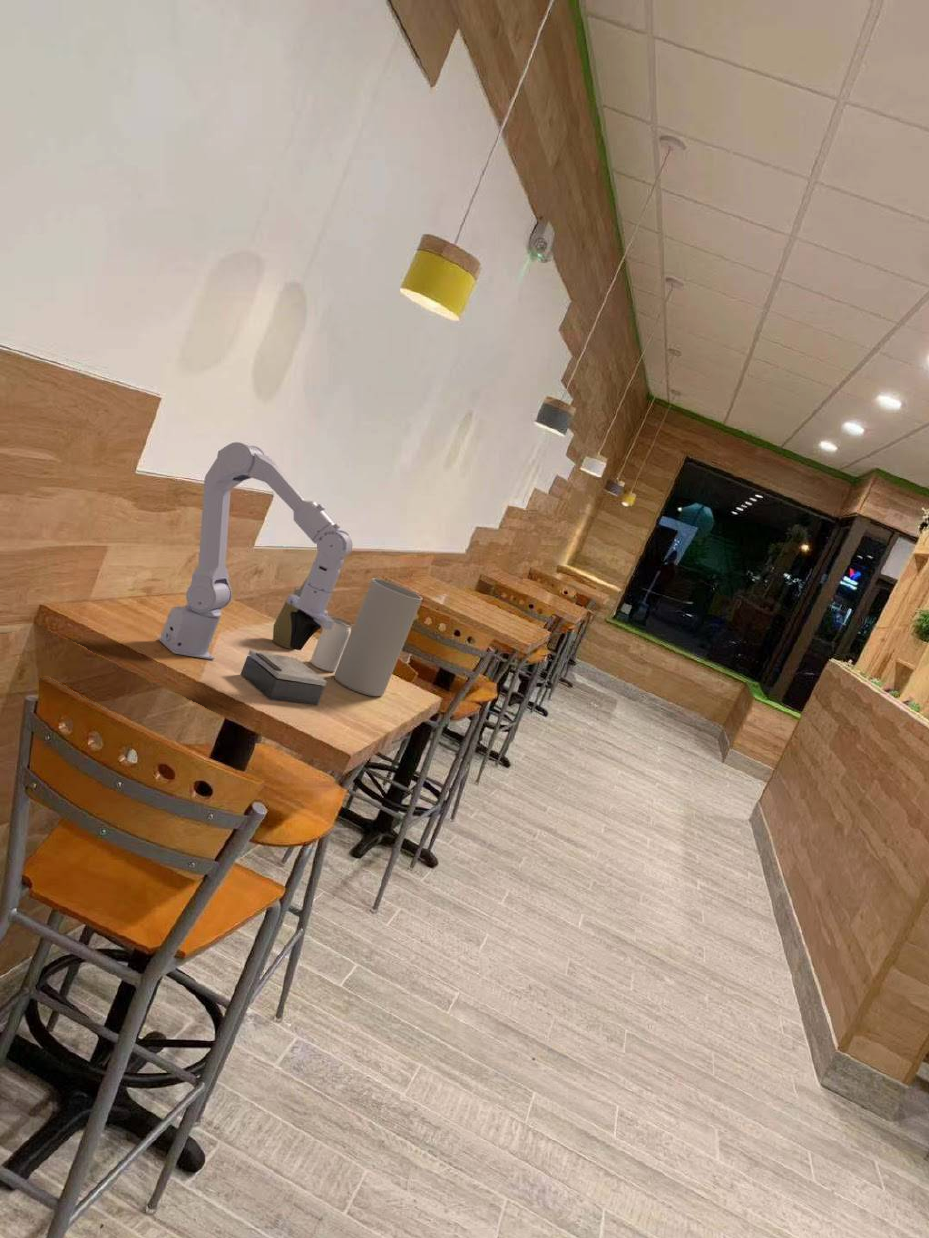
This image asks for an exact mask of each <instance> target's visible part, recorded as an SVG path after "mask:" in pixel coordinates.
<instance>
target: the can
mask: <svg viewBox="0 0 929 1238" xmlns="http://www.w3.org/2000/svg"><path fill="white" fill-rule="evenodd" d="M329 617H330V618H331V619H332V620H333V621H334V623H333V625H332V628H331V630H328V629H324V628H322V630H321V632H320V635H319V638H318V640H317V643H316V645H315V647H314V651H313V653H312V656H311V658H310V664H311V665H312V666H313V667H315V668H317V669H319V670H321V671H325V672H327V673H335V671H336V669H337V666H338V664H339V661H340V659H341V656H342V654H343V651H344V649H345V646H346V644H347V641H348V639H349V636H350V634H351V631H352V628H351V627H352V624H351V623H350V622H349V621H346V620H344V619H342V618H339V617H337V616H336V617H335V616H329Z"/></svg>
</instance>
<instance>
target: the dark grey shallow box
mask: <svg viewBox="0 0 929 1238" xmlns="http://www.w3.org/2000/svg"><path fill="white" fill-rule="evenodd" d="M239 676H241V677H242V678H244V679H245V680H246V681H247V682H248V683H249V684H251V685H252V686H253V687H254V688H255V689H256V690H258V692H260V694H262V695H263V696H264V697H265V698H266V699H268V700H270V701H278V702H283V703H284V702H285V703H291V704H292V703H293V704H302V705H309V706H318V704H319V702H320V700H321V698H322V695H323V692H324V689H325V686H322V685H316V684H310V683H303V682H297V681H291V680H285V679H278V678H276V677H275V676H274V675H273V674H271V673H270V672H269V671H268V670H267V669H265V668H264V667H263V666H262V665H261V664H259V663H258V662H257V661H256V660H255V659H253V658H252V657H251V656H250V655H247V656H246V659H245V661H244V665H243V666H242V669H241V672H240V675H239Z"/></svg>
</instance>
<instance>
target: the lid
mask: <svg viewBox="0 0 929 1238" xmlns="http://www.w3.org/2000/svg"><path fill="white" fill-rule="evenodd" d="M248 656H251V657H252V658H253V659H255V660H256V661H257V662H258V663H259V664H261V665H262V666H263V667H264V668H265V669H267V670H268V671H269V672H270V673H271V674H273V675H274V676H275V677H276V678H278V679H285V680H291V681H297V682H303V683H310V684H316V685H322V686H324V687H325V686H326V684H327V682H328V681H327V680H325V678H323V677H322V676H320V675H319V674H318V673H317V672H315V671H314V670H312V669H311V668H310V667H308V665H307V664H305V663H303V661H302V660H299V659H298V658H297V657H292V656H288V655H281V654H276V653H269V652H264V651H260V650H259V651H258V650H253V649H249V651H248Z"/></svg>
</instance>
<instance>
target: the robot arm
mask: <svg viewBox="0 0 929 1238" xmlns="http://www.w3.org/2000/svg"><path fill="white" fill-rule="evenodd" d="M250 479H254V480H257V481H260V482H263V483H266V485H267V486H268V487H270V488H271V489H272V490H273V491H274V493H276V495H277V496H278V497H280V499H281V500H283V502H284V503H285V504H286V505H287V506H288V507H289V508H290V509H291V510H292V512H293V522H295V524H297V526H298V527H299V528H300V529H301V531H303V533H304V534H305V535H306V536H307V537H308V538H309V540H310V541H312V543H314V544H316V549H317V554H316V556H315V559H314V561H313V562H312V566H311V567H310V569H309V573H308V575H307V577H308V578H307V577H306V578H307V580H306V579H305V580H306V583H305V585H304V588H303V590H302V593H301V596H300V597H298V596H296V595H294V594H292V593H289V594H288V596H287V598H288V599H287V598H286V600H287V603H288V604H291V605H293V606H294V607H295V608H297V609H298V611H297V612H293V611H292V612H291V613H290V616H291V623H292V631H291V640H290V647H291V648H292V649H291V650H297V651H301V650H302V649H303V648H304V647H305V645H306V644H307V642H308V641H309V640H310V638H311V637H312V636H313V635H314V634H315V633H316V632H317V631H318V630H320V629H321V628H322V629H323V628H324V629H328V630H331V628H332V625H333V623H334V621H333V620H332V619H331V618H330V617H331V616H329V615H328V614H329V611H328V610H327V607H328V605H329V602H330V599H331V596H332V595H333V591H334V590H335V586H336V585H337V581H338V580H339V577H340V574H341V570H342V568H343V564H344V562H345V559H346V558H347V557H348V556H349V555H350V554H351V552H352V550H353V541H352V539H351V537H350V536H349V533H348V532H347V531H344V530H340V528H341V525H340V524H339V523H337V522H336V523H335V522H334V521H333V520H332V519H331V518H330V517H329V515H327V513H326V512H325V509H326V507H325V506H324V505H323V504H322V503H317V502H316V501H312V500H307V499H305V498H304V496H303V495H302V494H301V493H300V491H299V490H298V489H297V488H296V486H294V484H293V483H292V482H291V480H289V478H288V477H287V476H286V474H285V473H284V472H283V471H282V470H281V468H279V466H278V465H277V463H276V462H275V461H274V460H273V459H272V458H270V456H268V455H266V454H265V452H264V451H263V450H262V449H261V448H260V447H258V446H255V445H248V444H245V443H242V442H240V441H239V442H237V441H235V442H232V443H229V444H228V445H226V446H224V447H222V448H221V449H219V450H218V451H217V455H216V459H215V460H214V462H213V464H212V465H211V467H210V468H209V469H208V471H207V473H206V474H205V477H204V479H203V480H204V481H203V494H202V495H203V496H202V509H201V526H200V537H199V540H200V541H199V552H198V553H199V556H198V557H199V558H198V565H197V567H196V568H195V570H194V571H193V573H192V575H191V582H190V585H189V586H188V589H187V590H186V594H185V597H186V602H187V603H186V605H183V606H178V605H177V606H174V607H172V609H171V610H170V611H169V614H168V615H167V618H166V621H165V624H164V627H163V628H162V629H163V630H162V631H161V632H162V633H161V635H160V636H158V638H157V639H158V640H159V642H161V643H162V644H163V645H164V646H165V647H166V648H167V649H168V650H169V651H170V652H172V654H174V655H175V654H176V655H181V656H187V657H188V656H189V657H195V658H199V659H206V660H215V656H213V655H212V654H211V653H210V652H209V649H210V646H211V645H212V642H213V638H214V635H215V633H216V631H217V628H218V625H219V622H220V619H221V616H222V614H223V613H222V609H223V608H225V607H227V606H228V605H229V603H230V602H231V601H232V599H233V598H232V597H233V590H232V588H231V585H230V582H229V581H230V575H229V571H228V570H227V567H226V563H227V562H226V560H227V548H228V535H229V534H228V533H229V531H228V530H229V518H230V508H231V507H230V505H231V504H230V503H231V493H232V492H231V491H232V490H233V489H235V488H236V487H237V486H238V485H240V484H241V483H242V482H243V481H246V480H250Z"/></svg>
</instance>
